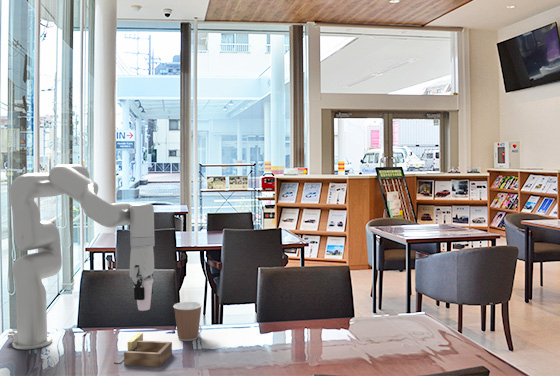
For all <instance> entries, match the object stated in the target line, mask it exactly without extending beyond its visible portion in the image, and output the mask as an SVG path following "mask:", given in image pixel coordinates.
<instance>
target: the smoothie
mask: <svg viewBox="0 0 560 376" xmlns="http://www.w3.org/2000/svg"><path fill="white" fill-rule="evenodd" d="M139 281H140V283H141V280H139ZM152 283H154V278H153V277H152V278H148V277H146V278H144V284H143V287H144V292H145V299H144V300H136V304H137V310H138V311H141V312H143V311H148V310H150V309H151V303H152V302H151V301H152V295H151V293H152Z"/></svg>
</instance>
